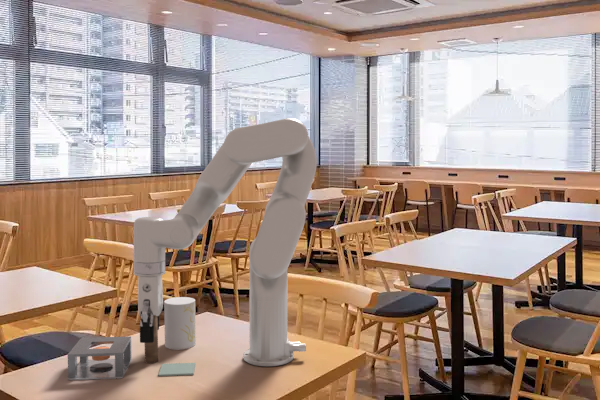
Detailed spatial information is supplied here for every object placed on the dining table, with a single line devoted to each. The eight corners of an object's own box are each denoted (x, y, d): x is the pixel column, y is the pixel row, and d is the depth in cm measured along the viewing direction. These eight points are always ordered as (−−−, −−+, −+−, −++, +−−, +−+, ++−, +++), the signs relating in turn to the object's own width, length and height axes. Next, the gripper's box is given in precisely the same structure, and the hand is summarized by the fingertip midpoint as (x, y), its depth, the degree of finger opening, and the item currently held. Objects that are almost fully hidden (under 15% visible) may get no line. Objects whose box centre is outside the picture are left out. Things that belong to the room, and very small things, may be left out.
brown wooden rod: (158, 358, 150) (158, 307, 148) (157, 362, 146) (156, 310, 145) (145, 358, 149) (145, 307, 148) (143, 363, 146) (143, 311, 145)
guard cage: (131, 360, 148) (131, 336, 148) (122, 378, 136) (122, 352, 136) (81, 361, 147) (81, 337, 146) (68, 380, 135) (67, 354, 135)
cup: (188, 350, 156) (188, 305, 155) (159, 348, 157) (159, 303, 156) (200, 340, 163) (199, 297, 162) (172, 338, 165) (171, 296, 164)
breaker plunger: (111, 354, 144) (111, 346, 143) (107, 360, 140) (107, 351, 139) (94, 355, 143) (94, 346, 143) (90, 361, 139) (90, 352, 139)
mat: (195, 364, 146) (195, 362, 146) (193, 374, 139) (193, 373, 139) (162, 365, 145) (162, 363, 145) (158, 376, 138) (158, 374, 138)
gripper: (161, 275, 138) (161, 347, 139) (169, 261, 155) (169, 325, 156) (127, 275, 137) (128, 347, 138) (139, 261, 154) (139, 326, 155)
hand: (149, 336), depth 147 cm, fingers open, 9 cm apart
